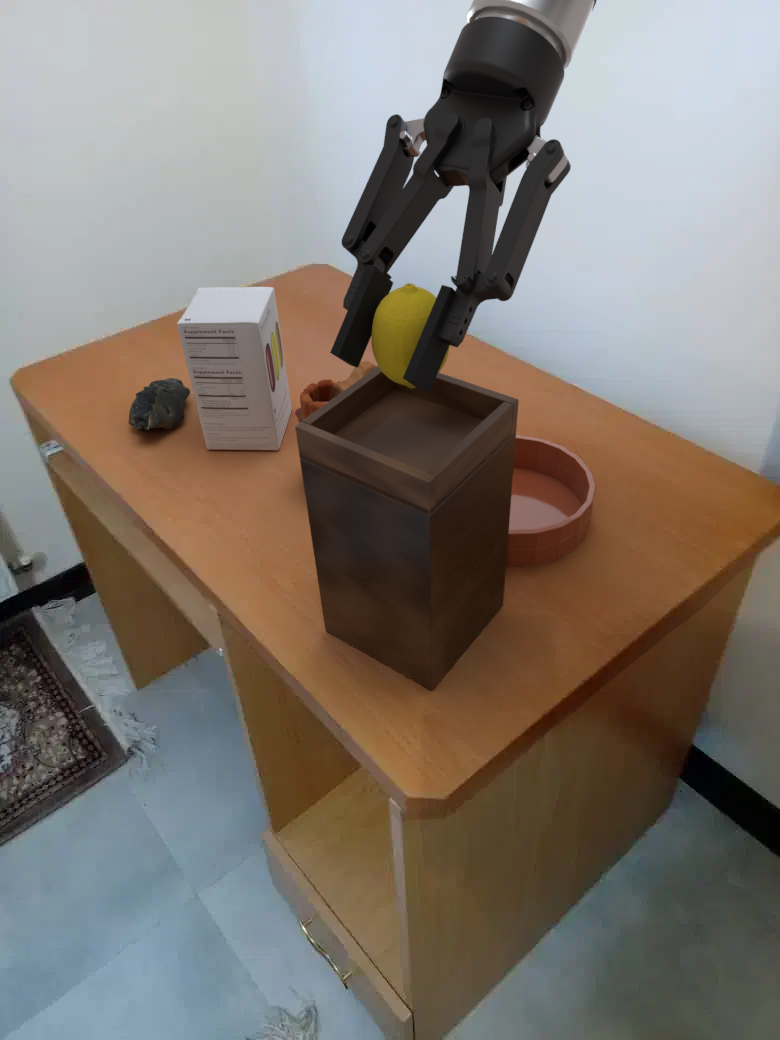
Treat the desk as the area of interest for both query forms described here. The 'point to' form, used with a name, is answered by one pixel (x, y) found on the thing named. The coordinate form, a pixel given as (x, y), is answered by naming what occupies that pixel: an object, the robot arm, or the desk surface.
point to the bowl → (547, 502)
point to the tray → (408, 436)
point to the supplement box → (237, 367)
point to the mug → (328, 390)
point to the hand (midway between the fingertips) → (379, 372)
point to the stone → (159, 405)
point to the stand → (411, 566)
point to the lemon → (400, 329)
